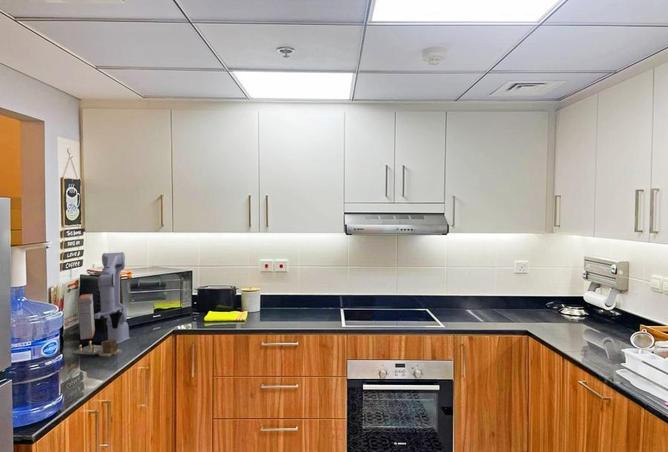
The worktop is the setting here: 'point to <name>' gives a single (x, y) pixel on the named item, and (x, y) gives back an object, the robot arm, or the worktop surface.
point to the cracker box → (86, 316)
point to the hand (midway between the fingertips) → (109, 330)
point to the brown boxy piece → (110, 348)
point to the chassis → (89, 349)
